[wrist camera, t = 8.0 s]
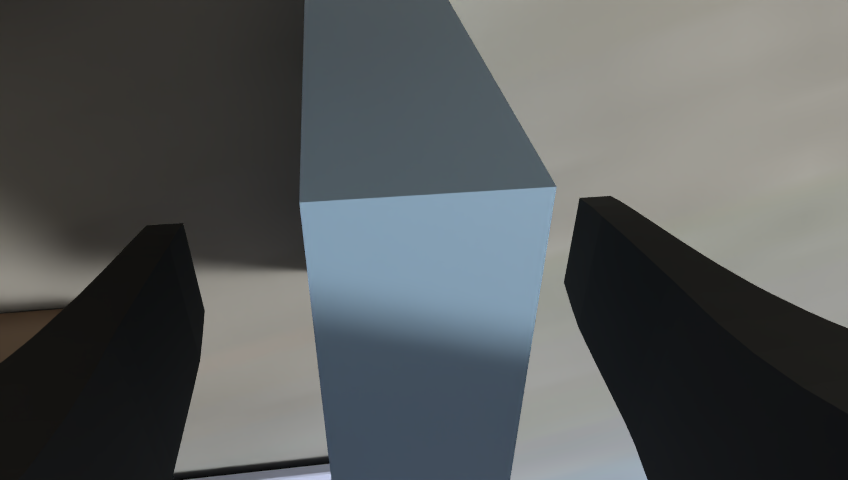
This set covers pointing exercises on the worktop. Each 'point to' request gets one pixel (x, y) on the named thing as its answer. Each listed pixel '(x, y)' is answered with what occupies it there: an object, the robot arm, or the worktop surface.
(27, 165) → the worktop surface
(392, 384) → the panel
